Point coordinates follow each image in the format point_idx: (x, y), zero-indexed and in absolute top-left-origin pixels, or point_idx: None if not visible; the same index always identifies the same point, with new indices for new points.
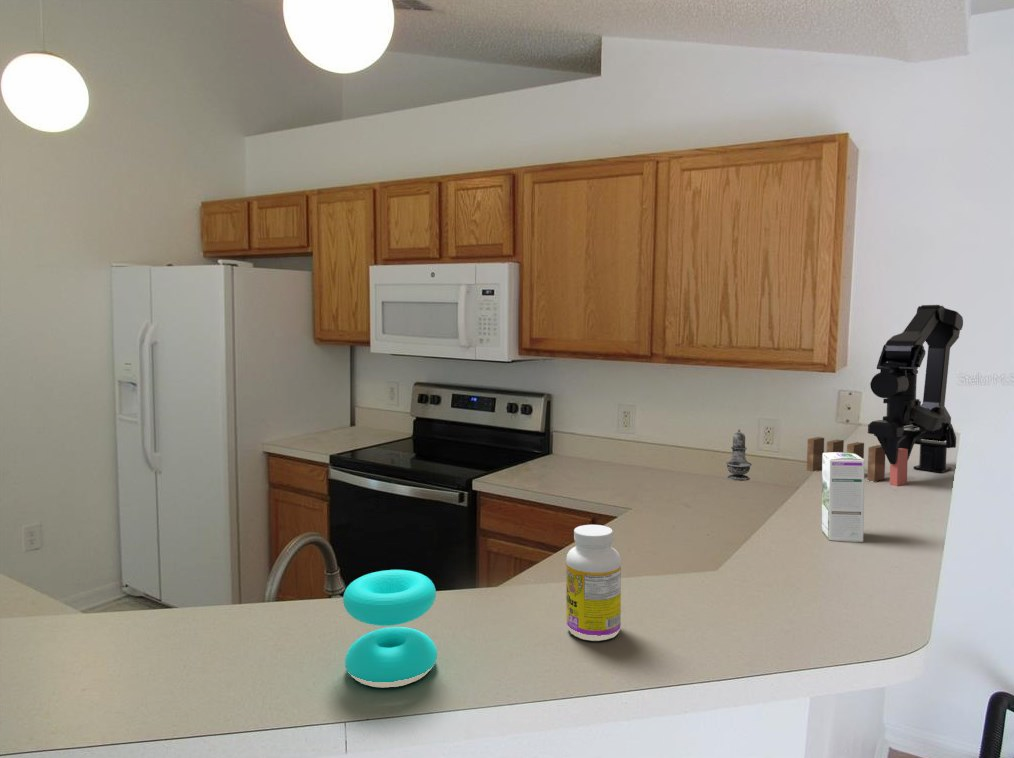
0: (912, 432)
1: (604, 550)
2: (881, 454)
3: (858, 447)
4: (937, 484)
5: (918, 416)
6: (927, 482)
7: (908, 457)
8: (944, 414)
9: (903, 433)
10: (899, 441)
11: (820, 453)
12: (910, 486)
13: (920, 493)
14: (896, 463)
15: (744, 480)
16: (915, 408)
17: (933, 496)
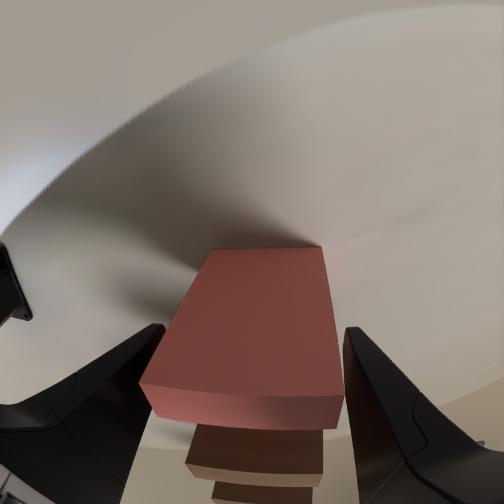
0: (32, 476)
1: None
2: (244, 432)
3: (265, 491)
4: (122, 153)
5: None
6: (124, 200)
7: (147, 333)
8: None
9: (83, 494)
10: (456, 466)
11: None
12: (271, 205)
13: (386, 106)
14: (333, 327)
15: (481, 441)
16: None
17: (393, 45)
